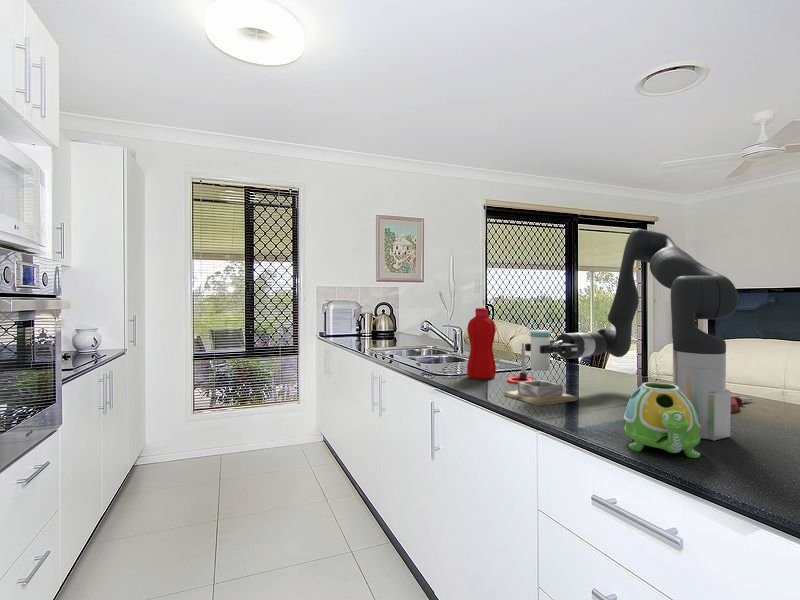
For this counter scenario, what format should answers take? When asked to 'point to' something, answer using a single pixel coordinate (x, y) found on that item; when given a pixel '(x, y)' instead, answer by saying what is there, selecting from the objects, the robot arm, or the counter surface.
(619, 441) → the counter surface
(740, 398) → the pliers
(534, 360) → the cylindrical container
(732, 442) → the counter surface
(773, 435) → the counter surface
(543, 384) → the wooden square holder
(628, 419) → the turtle holder
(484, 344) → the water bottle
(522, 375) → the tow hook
